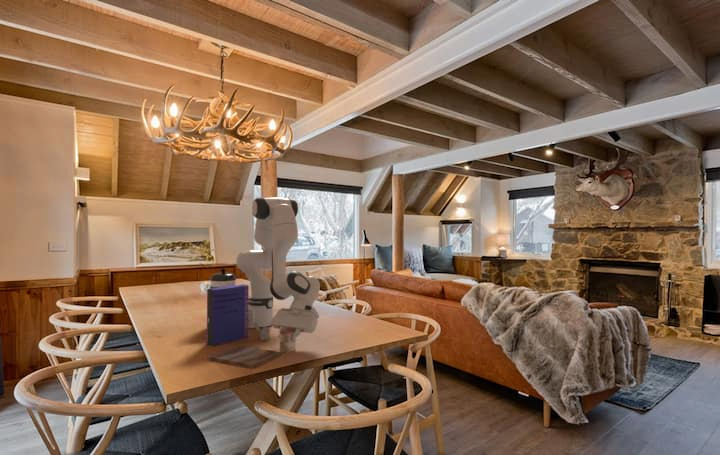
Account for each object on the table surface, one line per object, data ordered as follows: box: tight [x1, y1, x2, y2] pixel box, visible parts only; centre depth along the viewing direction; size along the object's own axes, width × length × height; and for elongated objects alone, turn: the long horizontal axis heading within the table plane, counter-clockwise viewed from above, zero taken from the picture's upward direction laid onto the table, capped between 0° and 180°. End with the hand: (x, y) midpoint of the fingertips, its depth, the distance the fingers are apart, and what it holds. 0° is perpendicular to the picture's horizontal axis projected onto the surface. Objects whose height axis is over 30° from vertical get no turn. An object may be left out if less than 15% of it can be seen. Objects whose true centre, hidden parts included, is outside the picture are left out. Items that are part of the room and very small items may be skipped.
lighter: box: [253, 322, 271, 341], centre depth 167 cm, size 7×2×8 cm, turn 103°
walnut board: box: [206, 344, 282, 369], centre depth 143 cm, size 22×16×1 cm
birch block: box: [279, 329, 297, 354], centre depth 152 cm, size 4×4×8 cm
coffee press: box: [209, 267, 237, 289], centre depth 190 cm, size 17×16×30 cm
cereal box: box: [206, 284, 250, 347], centre depth 165 cm, size 17×5×24 cm, turn 141°
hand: (286, 338), depth 151 cm, fingers closed on birch block, 4 cm apart
